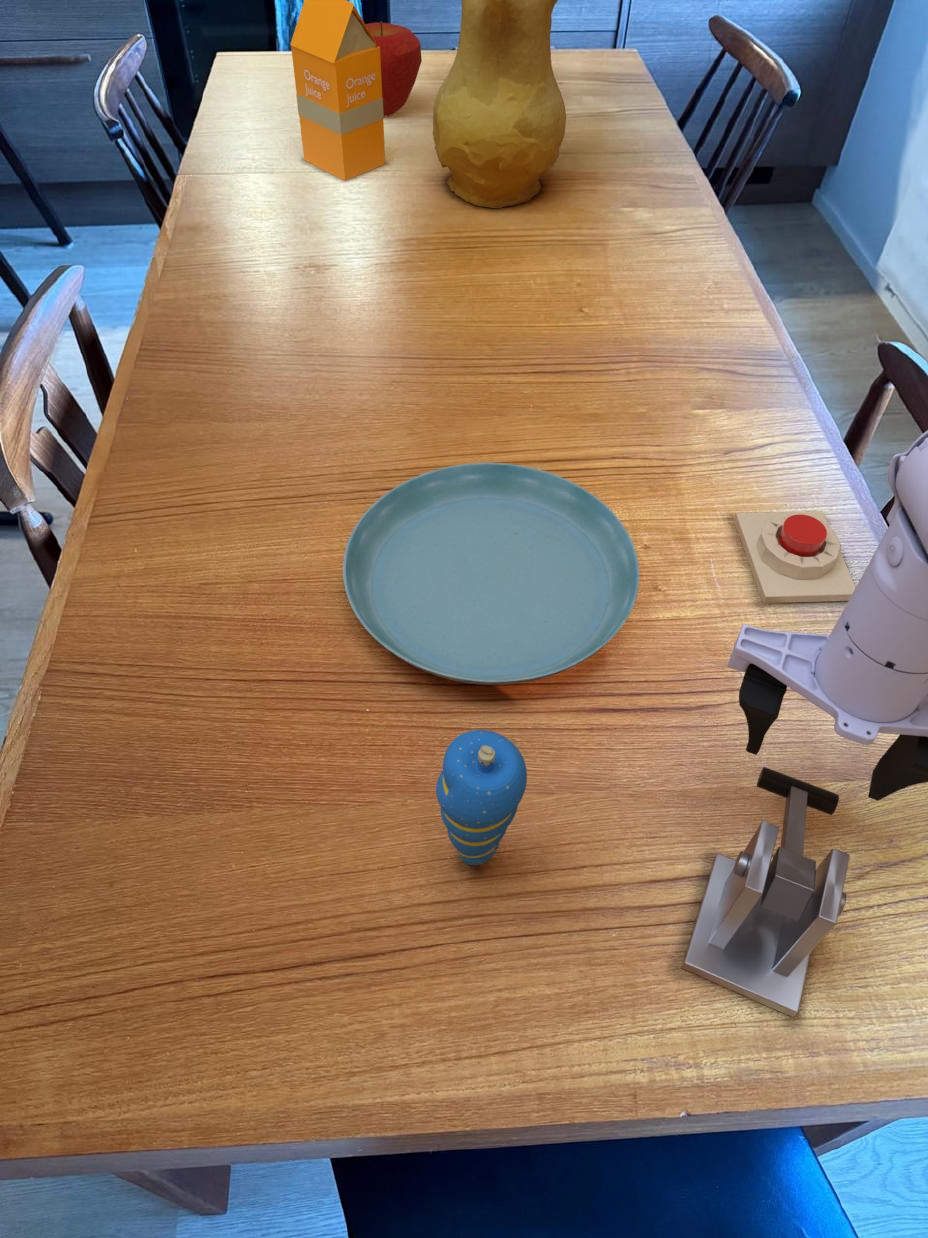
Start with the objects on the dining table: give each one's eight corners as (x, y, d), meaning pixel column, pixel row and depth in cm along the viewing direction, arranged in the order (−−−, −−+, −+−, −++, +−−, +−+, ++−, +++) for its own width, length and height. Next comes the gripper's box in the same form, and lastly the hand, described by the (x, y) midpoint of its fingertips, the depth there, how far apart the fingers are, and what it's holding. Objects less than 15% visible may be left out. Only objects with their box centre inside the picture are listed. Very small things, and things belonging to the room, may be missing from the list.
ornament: (452, 816, 62) (455, 693, 51) (523, 840, 61) (543, 720, 50) (425, 883, 59) (422, 769, 47) (500, 910, 58) (515, 799, 46)
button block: (855, 601, 75) (866, 581, 74) (762, 603, 75) (770, 583, 73) (819, 517, 82) (828, 497, 80) (733, 519, 81) (740, 499, 79)
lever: (754, 785, 61) (767, 757, 60) (828, 813, 60) (842, 785, 59) (735, 896, 51) (750, 864, 50) (824, 933, 50) (840, 901, 49)
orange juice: (345, 143, 129) (331, -21, 114) (386, 163, 125) (378, -4, 110) (302, 160, 126) (283, -8, 110) (344, 181, 122) (330, 11, 106)
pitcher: (402, 184, 121) (408, -40, 102) (490, 147, 131) (510, -63, 112) (500, 231, 114) (526, 1, 95) (585, 189, 124) (623, -27, 105)
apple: (436, 110, 137) (435, 20, 128) (386, 132, 132) (382, 39, 123) (384, 90, 142) (380, 1, 132) (334, 110, 136) (327, 19, 127)
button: (826, 556, 76) (832, 543, 75) (784, 557, 76) (790, 544, 74) (813, 526, 78) (819, 513, 77) (773, 527, 78) (778, 514, 77)
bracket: (713, 858, 61) (752, 788, 53) (817, 901, 59) (873, 834, 51) (681, 968, 56) (718, 908, 48) (793, 1018, 54) (850, 963, 47)
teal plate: (426, 459, 86) (426, 431, 83) (669, 540, 80) (676, 513, 77) (290, 637, 72) (284, 610, 69) (571, 752, 66) (576, 727, 63)
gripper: (743, 637, 46) (686, 770, 56) (1046, 741, 42) (925, 863, 53) (772, 547, 50) (714, 687, 60) (1051, 635, 46) (937, 768, 57)
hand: (814, 763), depth 57 cm, fingers open, 7 cm apart
